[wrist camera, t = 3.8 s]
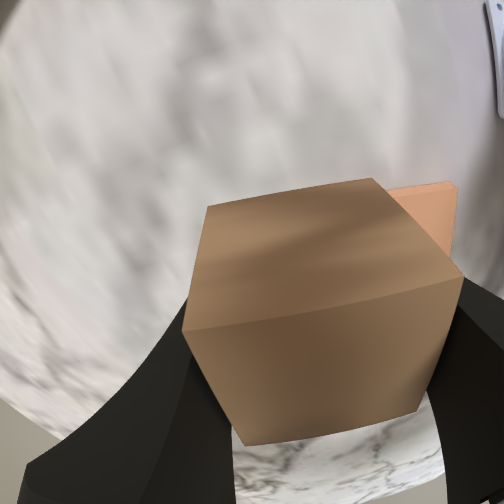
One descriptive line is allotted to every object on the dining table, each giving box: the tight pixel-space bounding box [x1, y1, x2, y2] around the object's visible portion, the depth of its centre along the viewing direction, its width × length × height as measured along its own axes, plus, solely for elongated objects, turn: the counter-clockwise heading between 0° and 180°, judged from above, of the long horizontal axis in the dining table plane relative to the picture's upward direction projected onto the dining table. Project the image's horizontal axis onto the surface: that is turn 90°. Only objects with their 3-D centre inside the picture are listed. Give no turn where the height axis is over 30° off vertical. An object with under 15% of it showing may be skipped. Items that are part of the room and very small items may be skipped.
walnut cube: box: [182, 178, 464, 446], centre depth 8 cm, size 5×5×5 cm
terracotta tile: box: [386, 182, 458, 257], centre depth 19 cm, size 10×10×1 cm
